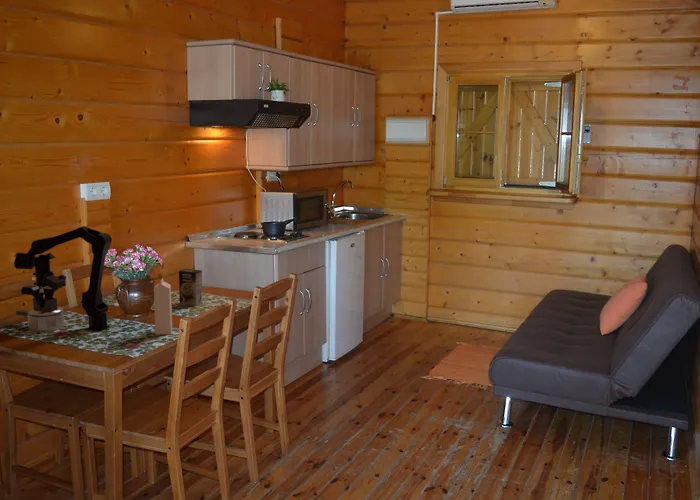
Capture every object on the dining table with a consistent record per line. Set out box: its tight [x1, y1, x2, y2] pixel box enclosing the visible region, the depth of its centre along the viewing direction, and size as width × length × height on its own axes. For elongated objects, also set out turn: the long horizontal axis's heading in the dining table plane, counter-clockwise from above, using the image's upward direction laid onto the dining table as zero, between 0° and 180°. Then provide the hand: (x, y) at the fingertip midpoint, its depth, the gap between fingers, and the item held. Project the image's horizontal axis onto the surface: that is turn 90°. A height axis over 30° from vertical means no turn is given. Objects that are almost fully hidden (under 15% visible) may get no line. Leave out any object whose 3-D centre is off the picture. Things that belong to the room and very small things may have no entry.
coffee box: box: [178, 268, 203, 307], centre depth 317 cm, size 9×6×16 cm
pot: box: [15, 309, 65, 333], centre depth 278 cm, size 21×13×6 cm, turn 71°
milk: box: [153, 277, 173, 336], centre depth 270 cm, size 6×6×22 cm
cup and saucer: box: [27, 296, 64, 317], centre depth 276 cm, size 13×13×7 cm
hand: (45, 306), depth 276 cm, fingers closed on cup and saucer, 3 cm apart
